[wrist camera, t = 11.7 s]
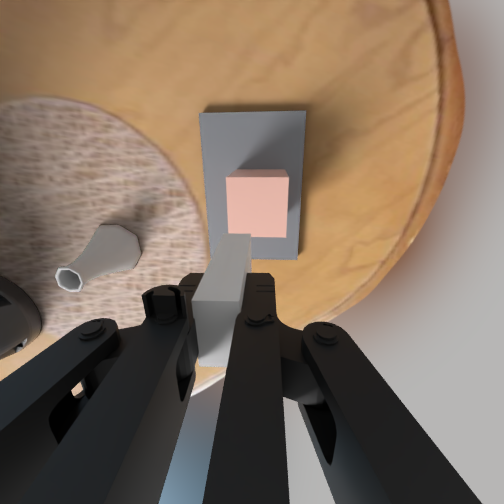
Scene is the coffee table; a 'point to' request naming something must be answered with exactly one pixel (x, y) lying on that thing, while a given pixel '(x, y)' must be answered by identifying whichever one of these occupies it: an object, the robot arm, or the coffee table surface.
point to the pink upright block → (257, 202)
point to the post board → (253, 157)
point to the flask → (101, 257)
